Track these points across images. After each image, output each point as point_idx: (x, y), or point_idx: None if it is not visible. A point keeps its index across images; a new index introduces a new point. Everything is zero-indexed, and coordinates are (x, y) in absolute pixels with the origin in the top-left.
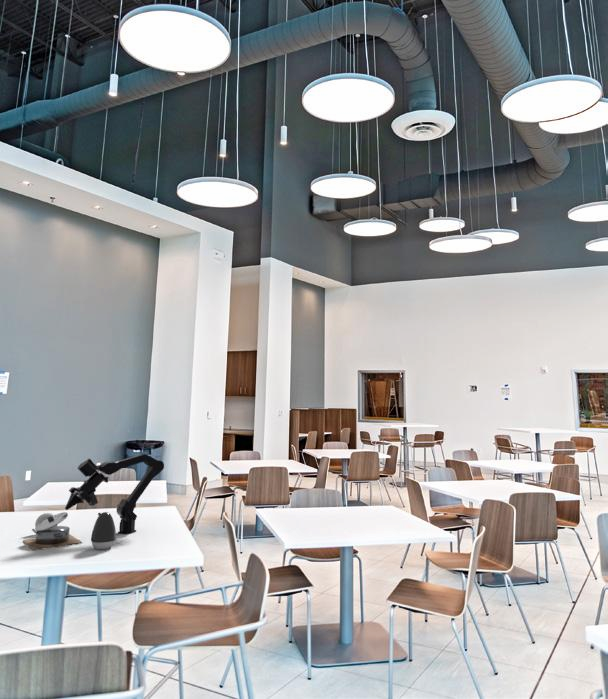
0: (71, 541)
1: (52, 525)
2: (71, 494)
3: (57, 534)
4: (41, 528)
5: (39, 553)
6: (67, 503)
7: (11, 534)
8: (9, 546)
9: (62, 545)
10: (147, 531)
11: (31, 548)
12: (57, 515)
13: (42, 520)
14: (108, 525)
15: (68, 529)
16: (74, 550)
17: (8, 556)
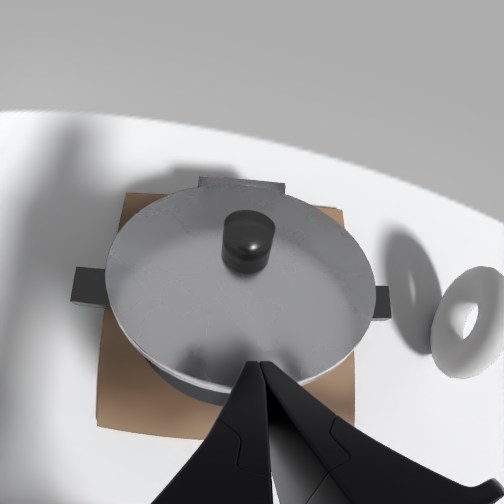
0: (148, 391)
1: (121, 233)
2: (412, 502)
3: (99, 280)
4: (190, 195)
5: (62, 204)
6: (283, 395)
7: (468, 222)
8: (273, 153)
9: (103, 323)
10: None
11: (155, 195)
12: (320, 315)
13: (474, 291)
14: None
15: (166, 381)
16: (3, 330)
17: (113, 122)
